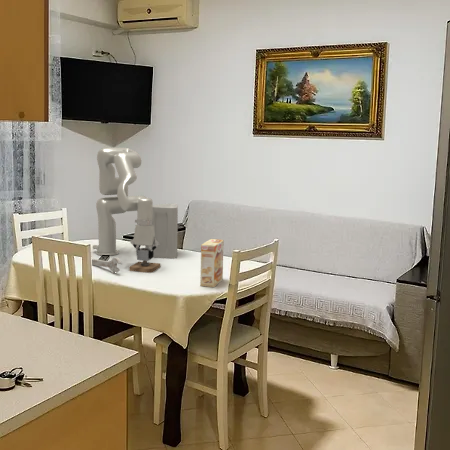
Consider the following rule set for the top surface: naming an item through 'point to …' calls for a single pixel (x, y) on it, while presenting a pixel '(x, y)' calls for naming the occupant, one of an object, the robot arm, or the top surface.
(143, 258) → the grey slotted block
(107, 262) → the wrench
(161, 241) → the upright grey panel
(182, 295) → the top surface
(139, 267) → the shaft block
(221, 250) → the coffeecake box
